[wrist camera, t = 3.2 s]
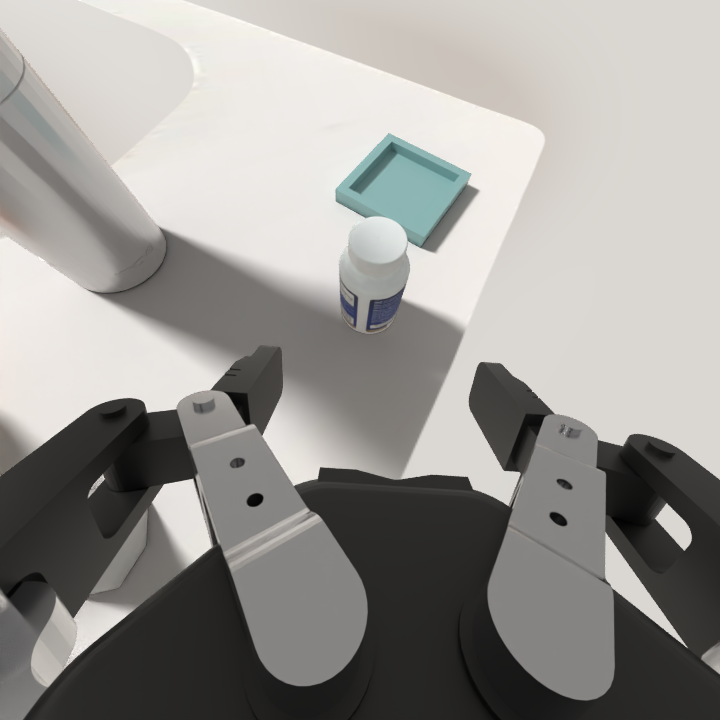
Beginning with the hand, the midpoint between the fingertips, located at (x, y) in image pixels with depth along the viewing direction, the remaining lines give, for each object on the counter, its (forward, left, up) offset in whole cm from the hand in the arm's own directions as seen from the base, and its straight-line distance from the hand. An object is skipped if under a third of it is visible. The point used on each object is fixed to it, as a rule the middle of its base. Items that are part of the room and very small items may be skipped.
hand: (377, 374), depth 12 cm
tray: (-10, +24, -14) cm, 30 cm away
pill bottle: (-5, +9, -14) cm, 18 cm away
